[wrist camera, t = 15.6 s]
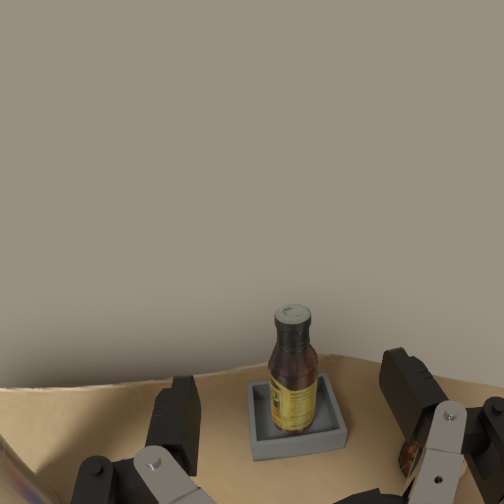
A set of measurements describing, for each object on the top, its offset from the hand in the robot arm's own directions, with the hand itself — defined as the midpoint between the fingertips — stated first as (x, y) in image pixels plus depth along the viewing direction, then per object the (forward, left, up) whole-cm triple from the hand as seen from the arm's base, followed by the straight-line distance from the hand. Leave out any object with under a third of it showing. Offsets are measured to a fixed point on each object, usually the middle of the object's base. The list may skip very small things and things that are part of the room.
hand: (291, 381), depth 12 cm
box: (+3, +21, -30) cm, 37 cm away
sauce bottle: (+3, +21, -30) cm, 36 cm away
